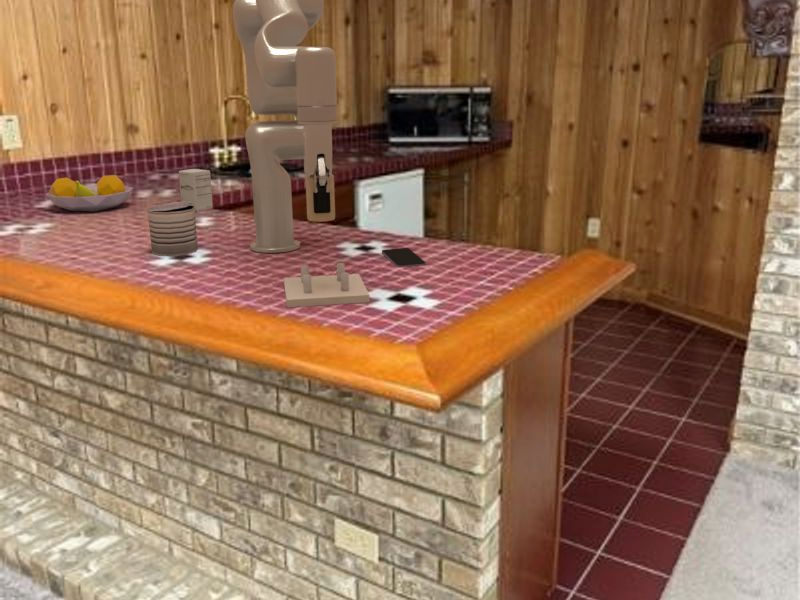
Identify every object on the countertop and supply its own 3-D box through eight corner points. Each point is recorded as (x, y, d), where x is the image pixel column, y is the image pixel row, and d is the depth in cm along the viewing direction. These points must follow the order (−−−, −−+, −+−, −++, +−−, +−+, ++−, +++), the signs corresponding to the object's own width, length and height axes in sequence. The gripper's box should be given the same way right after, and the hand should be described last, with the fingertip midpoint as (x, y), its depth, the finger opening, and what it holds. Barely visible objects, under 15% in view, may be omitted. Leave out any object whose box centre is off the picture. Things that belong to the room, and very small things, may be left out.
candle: (323, 215, 151) (321, 165, 148) (340, 219, 147) (339, 168, 144) (301, 219, 147) (299, 168, 144) (319, 223, 143) (317, 170, 140)
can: (185, 257, 181) (180, 208, 178) (142, 255, 183) (137, 207, 180) (206, 246, 192) (202, 200, 188) (165, 245, 194) (161, 199, 191)
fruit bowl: (76, 201, 262) (71, 168, 258) (148, 202, 258) (145, 169, 255) (27, 215, 235) (21, 180, 232) (107, 217, 232) (103, 181, 228)
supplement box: (181, 209, 244) (177, 170, 241) (198, 206, 250) (195, 168, 246) (196, 211, 240) (192, 172, 237) (213, 208, 246) (210, 169, 242)
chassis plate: (284, 284, 157) (282, 261, 156) (358, 280, 160) (358, 258, 159) (287, 307, 142) (285, 282, 141) (369, 302, 145) (369, 277, 144)
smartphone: (397, 266, 171) (380, 249, 184) (397, 270, 171) (380, 254, 184) (427, 263, 172) (408, 247, 186) (427, 268, 173) (408, 251, 186)
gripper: (295, 113, 148) (299, 203, 154) (299, 118, 132) (304, 219, 138) (333, 112, 150) (335, 201, 155) (341, 118, 133) (344, 217, 139)
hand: (320, 209), depth 146 cm, fingers closed on candle, 5 cm apart
